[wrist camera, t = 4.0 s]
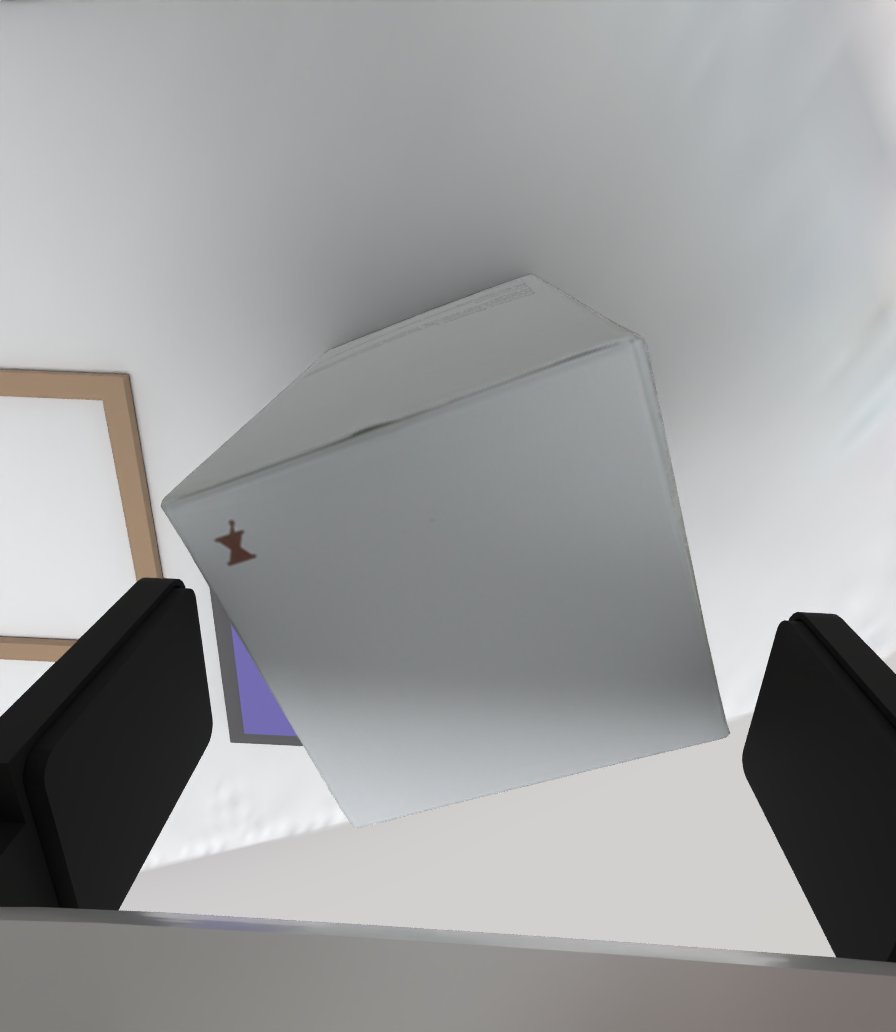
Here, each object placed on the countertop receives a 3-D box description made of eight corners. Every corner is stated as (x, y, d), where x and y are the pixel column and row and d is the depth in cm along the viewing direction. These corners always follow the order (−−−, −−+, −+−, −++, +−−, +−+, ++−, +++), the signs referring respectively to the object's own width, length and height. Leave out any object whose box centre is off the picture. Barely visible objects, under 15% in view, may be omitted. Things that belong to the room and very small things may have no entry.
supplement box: (403, 542, 23) (339, 843, 12) (321, 347, 21) (134, 495, 9) (601, 481, 22) (742, 752, 11) (542, 266, 20) (647, 319, 8)
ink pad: (214, 534, 24) (202, 549, 22) (458, 546, 23) (458, 561, 22) (238, 725, 27) (229, 746, 26) (449, 735, 27) (449, 757, 26)
